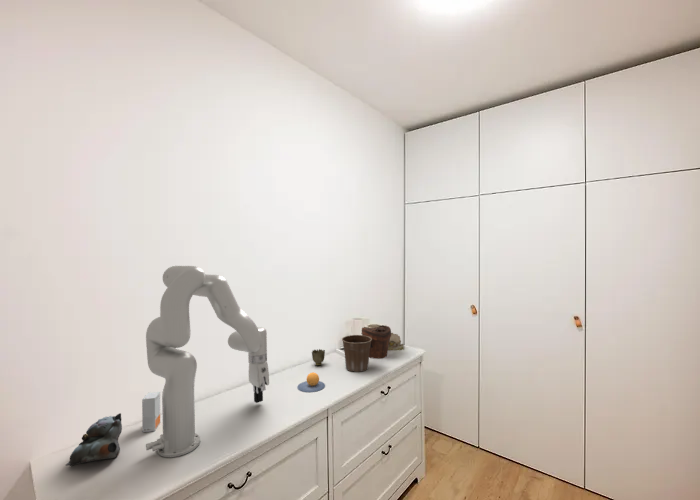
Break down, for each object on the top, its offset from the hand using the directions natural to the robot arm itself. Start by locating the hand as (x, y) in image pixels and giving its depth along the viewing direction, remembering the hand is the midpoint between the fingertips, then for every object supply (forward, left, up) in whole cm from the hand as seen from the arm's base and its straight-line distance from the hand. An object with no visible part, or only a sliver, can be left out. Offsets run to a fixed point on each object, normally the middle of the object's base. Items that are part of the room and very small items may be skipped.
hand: (258, 401), depth 140 cm
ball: (+28, 0, +2) cm, 28 cm away
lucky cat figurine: (-54, +2, -2) cm, 54 cm away
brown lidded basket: (+83, +10, -2) cm, 84 cm away
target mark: (+27, 0, -2) cm, 27 cm away
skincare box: (-37, +11, -2) cm, 39 cm away
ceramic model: (+101, +13, -2) cm, 102 cm away
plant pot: (+59, +2, -2) cm, 59 cm away
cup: (+47, +21, -2) cm, 52 cm away
